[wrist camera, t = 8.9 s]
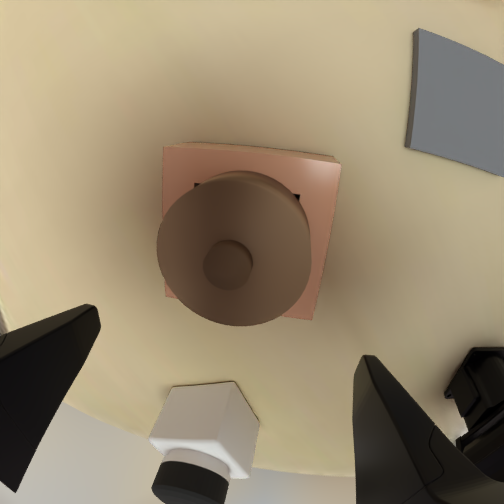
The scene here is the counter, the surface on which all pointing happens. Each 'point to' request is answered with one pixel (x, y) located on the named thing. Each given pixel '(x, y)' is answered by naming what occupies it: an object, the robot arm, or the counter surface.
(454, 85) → the coaster mat
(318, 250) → the salmon pink square box
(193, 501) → the medicine bottle
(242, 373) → the counter surface
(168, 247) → the walnut lid
